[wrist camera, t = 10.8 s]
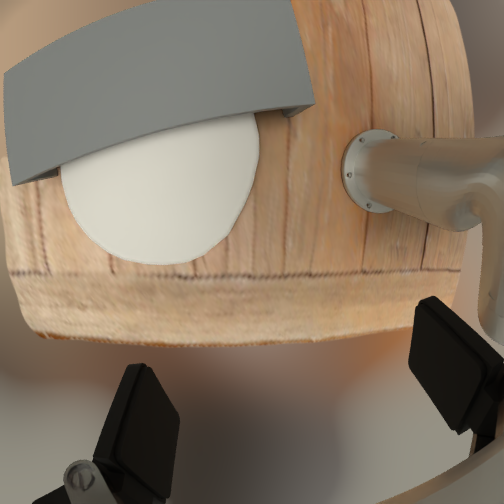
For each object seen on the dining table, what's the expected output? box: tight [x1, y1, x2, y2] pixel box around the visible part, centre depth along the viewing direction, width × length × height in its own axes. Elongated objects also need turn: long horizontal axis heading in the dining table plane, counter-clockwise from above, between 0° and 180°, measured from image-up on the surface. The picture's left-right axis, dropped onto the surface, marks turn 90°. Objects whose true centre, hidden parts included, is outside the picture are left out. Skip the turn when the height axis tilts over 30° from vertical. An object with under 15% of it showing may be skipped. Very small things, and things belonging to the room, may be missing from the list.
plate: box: [60, 113, 259, 265], centre depth 32 cm, size 28×6×27 cm
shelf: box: [4, 0, 315, 186], centre depth 27 cm, size 36×16×10 cm, turn 100°
